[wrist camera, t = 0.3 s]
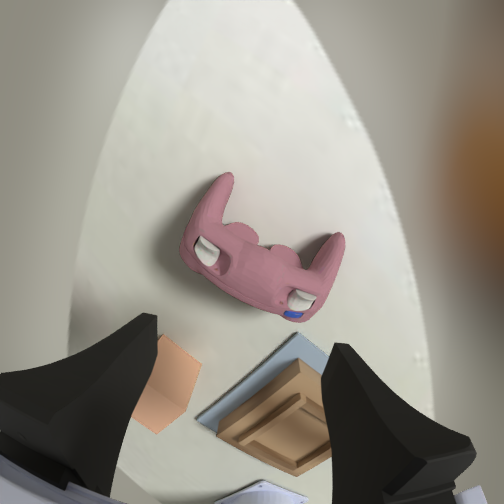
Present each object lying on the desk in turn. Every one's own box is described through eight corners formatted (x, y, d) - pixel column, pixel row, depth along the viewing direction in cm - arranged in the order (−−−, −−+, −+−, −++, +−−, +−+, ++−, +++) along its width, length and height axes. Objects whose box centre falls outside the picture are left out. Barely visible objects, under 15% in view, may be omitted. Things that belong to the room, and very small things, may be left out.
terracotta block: (175, 388, 25) (156, 434, 19) (139, 361, 24) (112, 402, 18) (201, 363, 24) (185, 411, 18) (163, 333, 23) (136, 375, 17)
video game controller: (202, 213, 22) (157, 273, 17) (223, 162, 20) (175, 214, 14) (318, 274, 23) (306, 348, 18) (352, 232, 20) (352, 306, 15)
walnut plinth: (295, 463, 26) (296, 482, 23) (219, 421, 25) (214, 442, 22) (372, 410, 24) (379, 430, 21) (298, 357, 23) (301, 378, 20)
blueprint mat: (294, 470, 27) (294, 473, 26) (197, 417, 25) (196, 420, 25) (391, 404, 24) (392, 407, 24) (297, 331, 23) (298, 334, 22)
